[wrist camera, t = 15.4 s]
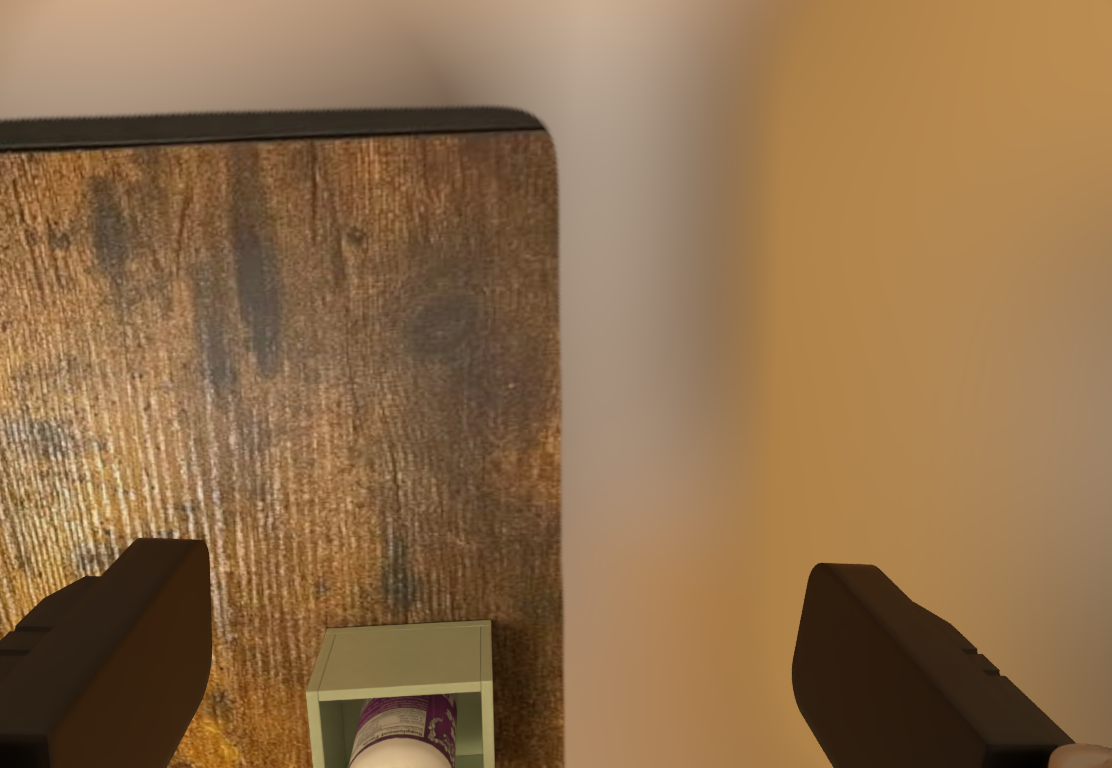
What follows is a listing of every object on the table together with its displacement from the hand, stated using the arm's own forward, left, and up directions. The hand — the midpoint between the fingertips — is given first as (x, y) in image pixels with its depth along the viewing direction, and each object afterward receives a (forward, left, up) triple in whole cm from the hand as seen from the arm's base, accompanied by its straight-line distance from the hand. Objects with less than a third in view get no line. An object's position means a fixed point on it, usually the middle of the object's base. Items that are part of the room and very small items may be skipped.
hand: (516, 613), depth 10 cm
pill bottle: (+15, -19, -30) cm, 38 cm away
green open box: (+15, -19, -30) cm, 39 cm away
